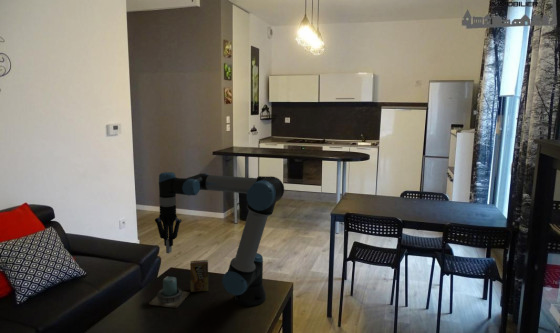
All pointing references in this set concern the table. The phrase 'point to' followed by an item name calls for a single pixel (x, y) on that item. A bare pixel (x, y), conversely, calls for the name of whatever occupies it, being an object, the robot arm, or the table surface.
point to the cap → (169, 286)
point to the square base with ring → (169, 299)
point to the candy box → (199, 275)
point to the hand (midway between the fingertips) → (168, 252)
